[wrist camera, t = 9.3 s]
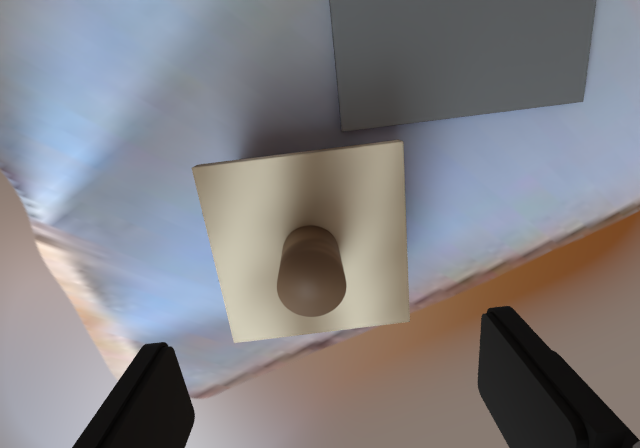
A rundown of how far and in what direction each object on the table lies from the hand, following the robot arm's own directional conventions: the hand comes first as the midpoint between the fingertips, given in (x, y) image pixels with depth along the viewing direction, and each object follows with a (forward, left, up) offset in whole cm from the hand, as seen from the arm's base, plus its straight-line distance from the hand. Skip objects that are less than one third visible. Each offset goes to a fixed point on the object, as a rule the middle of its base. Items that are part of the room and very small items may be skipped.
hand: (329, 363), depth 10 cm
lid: (+1, 0, -11) cm, 10 cm away
